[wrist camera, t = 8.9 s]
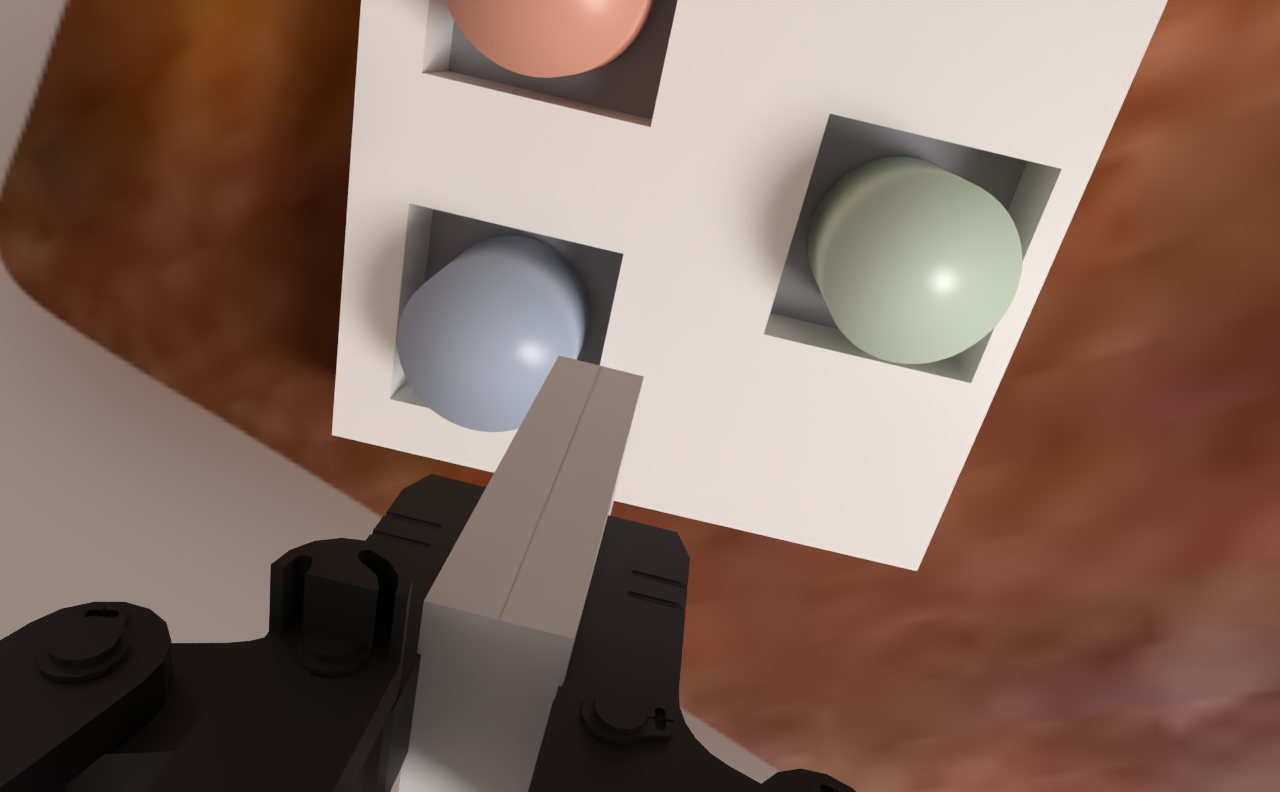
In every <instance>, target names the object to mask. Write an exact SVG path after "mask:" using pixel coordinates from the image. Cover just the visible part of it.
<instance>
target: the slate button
mask: <svg viewBox="0 0 1280 792" xmlns="http://www.w3.org/2000/svg"><path fill="white" fill-rule="evenodd" d="M589 325H590V304H589V299H588V295H587V291H586V289H585V286H584V284H583V282H582V280H581V278H580V276H579V275H578V273H577V271H576V270H575V269H574V268H573V266H572V265H571V264H570V263H569V262H568V261H567V260H566V259H565V258H564V257H563V256H562V255H561V254H560V253H558V252H557V251H556V250H554V249H553V248H551V247H549V246H548V245H546V244H544V243H541V242H539V241H537V240H534V239H530V238H527V237H521V236H509V235H506V236H496V237H492V238H488V239H485V240H482V241H480V242H478V243H476V244H474V245H472V246H470V247H469V248H468V249H466V250H465V251H464V252H462V253H461V254H460V255H459V256H458V257H456V258H455V259H454V260H453V261H451V262H450V263H449V264H448V265H446V266H445V267H444V268H443V269H441V270H440V271H439V272H438V273H437V274H435V275H434V276H433V277H432V278H430V279H429V280H428V281H427V282H425V283H424V284H423V285H422V286H421V287H420V288H419V289H418V290H417V291H416V292H415V293H414V294H413V295H412V297H411V298H410V300H409V301H408V302H407V304H406V306H405V308H404V310H403V312H402V315H401V318H400V322H399V327H398V333H397V347H398V355H399V359H400V363H401V367H402V369H403V372H404V374H405V376H406V378H407V380H408V382H409V384H410V386H411V387H412V389H413V390H414V391H415V393H416V394H417V395H418V397H419V398H420V399H421V400H422V401H423V402H424V403H425V404H426V405H427V406H428V407H429V408H430V409H431V410H433V411H434V412H435V413H437V414H438V415H439V416H441V417H443V418H444V419H446V420H448V421H450V422H452V423H454V424H456V425H459V426H461V427H464V428H468V429H471V430H476V431H482V432H505V431H510V430H515V429H518V428H519V427H520V425H521V423H522V422H523V420H524V418H525V416H526V414H527V413H528V411H529V409H530V407H531V405H532V403H533V402H534V400H535V398H536V396H537V394H538V393H539V391H540V389H541V387H542V385H543V383H544V382H545V380H546V378H547V376H548V374H549V373H550V371H551V369H552V367H553V365H554V363H555V362H556V360H557V358H558V356H563V357H567V358H571V359H575V360H577V358H578V356H579V354H580V351H581V349H582V347H583V344H584V342H585V340H586V338H587V334H588V330H589Z"/></svg>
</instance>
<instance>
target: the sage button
mask: <svg viewBox="0 0 1280 792" xmlns="http://www.w3.org/2000/svg"><path fill="white" fill-rule="evenodd" d="M807 248H808V259H809V264H810V267H811V271H812V274H813V276H814V278H815V280H816V282H817V285H818V287H819V289H820V291H821V294H822V296H823V298H824V300H825V302H826V305H827V307H828V309H829V311H830V313H831V315H832V317H833V320H834V322H835V323H836V325H837V326H838V328H839V329H840V331H841V332H842V333H843V334H844V335H845V336H846V338H847V339H848V340H849V341H851V342H852V343H853V344H854V345H855V346H857V347H858V348H859V349H861V350H863V351H864V352H866V353H868V354H870V355H872V356H874V357H876V358H879V359H882V360H886V361H889V362H895V363H900V364H922V363H930V362H935V361H939V360H942V359H946V358H949V357H952V356H954V355H956V354H958V353H961V352H963V351H964V350H966V349H968V348H970V347H971V346H973V345H974V344H976V343H977V342H978V341H980V340H981V339H982V338H984V337H985V336H986V335H987V334H988V333H989V332H990V331H991V330H992V329H993V328H994V327H995V326H996V325H997V324H998V322H999V321H1000V320H1001V319H1002V317H1003V316H1004V314H1005V313H1006V311H1007V310H1008V308H1009V307H1010V305H1011V303H1012V301H1013V299H1014V297H1015V294H1016V291H1017V288H1018V285H1019V281H1020V277H1021V272H1022V247H1021V242H1020V238H1019V234H1018V231H1017V229H1016V226H1015V224H1014V222H1013V220H1012V218H1011V216H1010V215H1009V213H1008V212H1007V210H1006V209H1005V208H1004V207H1003V205H1002V204H1001V203H1000V202H999V201H998V200H997V199H996V198H995V197H993V196H992V195H991V194H990V193H988V192H987V191H985V190H984V189H982V188H981V187H979V186H977V185H975V184H973V183H971V182H969V181H967V180H965V179H963V178H961V177H959V176H957V175H955V174H953V173H951V172H949V171H947V170H945V169H943V168H941V167H939V166H937V165H935V164H933V163H931V162H928V161H925V160H922V159H919V158H913V157H899V156H896V157H886V158H881V159H877V160H873V161H871V162H868V163H865V164H863V165H861V166H859V167H857V168H855V169H853V170H852V171H850V172H849V173H847V174H846V175H844V176H843V177H842V178H841V179H839V180H838V181H837V182H836V183H835V184H834V185H833V186H832V187H831V188H830V189H829V190H828V192H827V193H826V194H825V196H824V197H823V198H822V200H821V201H820V203H819V205H818V207H817V209H816V211H815V213H814V215H813V218H812V221H811V224H810V228H809V233H808V242H807Z"/></svg>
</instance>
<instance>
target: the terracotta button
mask: <svg viewBox="0 0 1280 792" xmlns="http://www.w3.org/2000/svg"><path fill="white" fill-rule="evenodd" d="M445 2H446V4H447V6H448V9H449V11H450V13H451V15H452V17H453V18H454V20H455V22H456V24H457V25H458V27H459V28H460V30H461V31H462V32H463V34H464V35H465V36H466V38H467V39H468V40H469V41H470V42H471V43H472V44H473V45H474V46H475V48H476V49H478V50H479V51H480V52H481V53H482V54H484V55H485V56H486V57H487V58H489V59H490V60H492V61H493V62H495V63H496V64H498V65H500V66H502V67H504V68H506V69H508V70H510V71H513V72H516V73H519V74H522V75H526V76H532V77H544V78H552V77H560V76H567V75H573V74H579V73H585V72H589V71H593V70H597V69H599V68H602V67H604V66H606V65H609V64H610V63H612V62H614V61H615V60H617V59H618V58H620V57H621V56H622V55H623V54H625V53H626V52H627V51H628V50H629V49H630V48H631V47H632V46H633V45H634V44H635V42H636V41H637V40H638V38H639V37H640V35H641V34H642V33H643V31H644V29H645V27H646V25H647V23H648V21H649V19H650V16H651V14H652V11H653V8H654V4H655V0H445Z"/></svg>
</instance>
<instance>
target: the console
mask: <svg viewBox="0 0 1280 792" xmlns="http://www.w3.org/2000/svg"><path fill="white" fill-rule="evenodd" d="M1167 1H1168V0H655V4H654V8H653V11H652V14H651V16H650V19H649V21H648V23H647V25H646V27H645V29H644V31H643V33H642V34H641V35H640V37H639V38H638V40H637V41H636V42H635V44H634V45H633V46H632V47H631V48H630V49H629V50H628V51H627V52H626V53H625V54H623V55H622V56H621V57H620V58H618V59H617V60H615V61H614V62H612V63H610V64H609V65H606V66H604V67H602V68H599V69H597V70H593V71H589V72H585V73H579V74H573V75H567V76H560V77H552V78H544V77H532V76H526V75H522V74H519V73H516V72H513V71H510V70H508V69H506V68H504V67H502V66H500V65H498V64H496V63H495V62H493V61H492V60H490V59H489V58H487V57H486V56H485V55H484V54H482V53H481V52H480V51H479V50H478V49H476V48H475V46H474V45H473V44H472V43H471V42H470V41H469V40H468V39H467V38H466V36H465V35H464V34H463V32H462V31H461V30H460V28H459V27H458V25H457V24H456V22H455V20H454V18H453V17H452V15H451V13H450V11H449V9H448V6H447V4H446V2H445V0H361V9H360V24H359V39H358V54H357V69H356V84H355V99H354V114H353V129H352V144H351V158H350V173H349V188H348V203H347V218H346V233H345V248H344V263H343V278H342V293H341V308H340V322H339V337H338V352H337V367H336V382H335V397H334V412H333V427H332V435H335V436H339V437H343V438H348V439H352V440H356V441H360V442H365V443H369V444H373V445H378V446H382V447H386V448H390V449H395V450H399V451H403V452H408V453H412V454H416V455H421V456H425V457H429V458H433V459H438V460H442V461H446V462H451V463H455V464H459V465H463V466H468V467H472V468H476V469H481V470H485V471H489V472H494V473H495V471H496V469H497V467H498V465H499V463H500V462H501V460H502V458H503V456H504V454H505V453H506V451H507V449H508V447H509V445H510V443H511V442H512V440H513V438H514V436H515V434H516V433H517V431H518V429H519V428H518V429H515V430H510V431H505V432H482V431H476V430H471V429H468V428H464V427H461V426H459V425H456V424H454V423H452V422H450V421H448V420H446V419H444V418H443V417H441V416H439V415H438V414H437V413H435V412H434V411H433V410H431V409H430V408H429V407H428V406H427V405H426V404H425V403H424V402H423V401H422V400H421V399H420V398H419V397H418V395H417V394H416V393H415V391H414V390H413V389H412V387H411V386H410V384H409V382H408V380H407V378H406V376H405V374H404V372H403V369H402V367H401V363H400V359H399V355H398V347H397V333H398V327H399V322H400V318H401V315H402V312H403V310H404V308H405V306H406V304H407V302H408V301H409V300H410V298H411V297H412V295H413V294H414V293H415V292H416V291H417V290H418V289H419V288H420V287H421V286H422V285H423V284H424V283H425V282H427V281H428V280H429V279H430V278H432V277H433V276H434V275H435V274H437V273H438V272H439V271H440V270H441V269H443V268H444V267H445V266H446V265H448V264H449V263H450V262H451V261H453V260H454V259H455V258H456V257H458V256H459V255H460V254H461V253H462V252H464V251H465V250H466V249H468V248H469V247H470V246H472V245H474V244H476V243H478V242H480V241H482V240H485V239H488V238H492V237H496V236H506V235H509V236H521V237H527V238H530V239H534V240H537V241H539V242H541V243H544V244H546V245H548V246H549V247H551V248H553V249H554V250H556V251H557V252H558V253H560V254H561V255H562V256H563V257H564V258H565V259H566V260H567V261H568V262H569V263H570V264H571V265H572V266H573V268H574V269H575V270H576V271H577V273H578V275H579V276H580V278H581V280H582V282H583V284H584V286H585V289H586V291H587V295H588V299H589V304H590V325H589V330H588V334H587V338H586V340H585V342H584V344H583V347H582V349H581V351H580V354H579V356H578V358H577V360H579V361H583V362H587V363H591V364H595V365H599V366H603V367H608V368H612V369H616V370H620V371H624V372H628V373H632V374H636V375H640V376H644V378H643V382H642V387H641V391H640V395H639V399H638V403H637V407H636V411H635V415H634V419H633V423H632V428H631V432H630V436H629V440H628V444H627V448H626V452H625V456H624V460H623V464H622V468H621V473H620V477H619V481H618V485H617V489H616V493H615V497H614V501H618V502H622V503H627V504H631V505H635V506H640V507H644V508H648V509H652V510H657V511H661V512H665V513H670V514H674V515H678V516H683V517H687V518H691V519H695V520H700V521H704V522H708V523H713V524H717V525H721V526H725V527H730V528H734V529H738V530H743V531H747V532H751V533H756V534H760V535H764V536H768V537H773V538H777V539H781V540H786V541H790V542H794V543H798V544H803V545H807V546H811V547H816V548H820V549H824V550H829V551H833V552H837V553H841V554H846V555H850V556H854V557H859V558H863V559H867V560H872V561H876V562H880V563H884V564H889V565H893V566H897V567H902V568H906V569H910V570H914V571H917V570H918V568H919V565H920V563H921V561H922V559H923V556H924V554H925V552H926V550H927V547H928V545H929V543H930V540H931V538H932V536H933V534H934V531H935V529H936V527H937V524H938V522H939V520H940V518H941V515H942V513H943V511H944V509H945V506H946V504H947V502H948V499H949V497H950V495H951V493H952V490H953V488H954V486H955V484H956V481H957V479H958V477H959V474H960V472H961V470H962V468H963V465H964V463H965V461H966V458H967V456H968V454H969V452H970V449H971V447H972V445H973V443H974V440H975V438H976V436H977V433H978V431H979V429H980V427H981V424H982V422H983V420H984V418H985V415H986V413H987V411H988V408H989V406H990V404H991V402H992V399H993V397H994V395H995V393H996V390H997V388H998V386H999V383H1000V381H1001V379H1002V377H1003V374H1004V372H1005V370H1006V367H1007V365H1008V363H1009V361H1010V358H1011V356H1012V354H1013V352H1014V349H1015V347H1016V345H1017V342H1018V340H1019V338H1020V336H1021V333H1022V331H1023V329H1024V327H1025V324H1026V322H1027V320H1028V317H1029V315H1030V313H1031V311H1032V308H1033V306H1034V304H1035V301H1036V299H1037V297H1038V295H1039V292H1040V290H1041V288H1042V286H1043V283H1044V281H1045V279H1046V276H1047V274H1048V272H1049V270H1050V267H1051V265H1052V263H1053V261H1054V258H1055V256H1056V254H1057V251H1058V249H1059V247H1060V245H1061V242H1062V240H1063V238H1064V235H1065V233H1066V231H1067V229H1068V226H1069V224H1070V222H1071V220H1072V217H1073V215H1074V213H1075V210H1076V208H1077V206H1078V204H1079V201H1080V199H1081V197H1082V195H1083V192H1084V190H1085V188H1086V185H1087V183H1088V181H1089V179H1090V176H1091V174H1092V172H1093V170H1094V167H1095V165H1096V163H1097V160H1098V158H1099V156H1100V154H1101V151H1102V149H1103V147H1104V144H1105V142H1106V140H1107V138H1108V135H1109V133H1110V131H1111V129H1112V126H1113V124H1114V122H1115V119H1116V117H1117V115H1118V113H1119V110H1120V108H1121V106H1122V104H1123V101H1124V99H1125V97H1126V94H1127V92H1128V90H1129V88H1130V85H1131V83H1132V81H1133V78H1134V76H1135V74H1136V72H1137V69H1138V67H1139V65H1140V63H1141V60H1142V58H1143V56H1144V53H1145V51H1146V49H1147V47H1148V44H1149V42H1150V40H1151V38H1152V35H1153V33H1154V31H1155V28H1156V26H1157V24H1158V22H1159V19H1160V17H1161V15H1162V13H1163V10H1164V8H1165V6H1166V3H1167ZM896 156H899V157H913V158H919V159H922V160H925V161H928V162H931V163H933V164H935V165H937V166H939V167H941V168H943V169H945V170H947V171H949V172H951V173H953V174H955V175H957V176H959V177H961V178H963V179H965V180H967V181H969V182H971V183H973V184H975V185H977V186H979V187H981V188H982V189H984V190H985V191H987V192H988V193H990V194H991V195H992V196H993V197H995V198H996V199H997V200H998V201H999V202H1000V203H1001V204H1002V205H1003V207H1004V208H1005V209H1006V210H1007V212H1008V213H1009V215H1010V216H1011V218H1012V220H1013V222H1014V224H1015V226H1016V229H1017V231H1018V234H1019V238H1020V242H1021V247H1022V272H1021V277H1020V281H1019V285H1018V288H1017V291H1016V294H1015V297H1014V299H1013V301H1012V303H1011V305H1010V307H1009V308H1008V310H1007V311H1006V313H1005V314H1004V316H1003V317H1002V319H1001V320H1000V321H999V322H998V324H997V325H996V326H995V327H994V328H993V329H992V330H991V331H990V332H989V333H988V334H987V335H986V336H985V337H984V338H982V339H981V340H980V341H978V342H977V343H976V344H974V345H973V346H971V347H970V348H968V349H966V350H964V351H963V352H961V353H958V354H956V355H954V356H952V357H949V358H946V359H942V360H939V361H935V362H930V363H922V364H900V363H895V362H889V361H886V360H882V359H879V358H876V357H874V356H872V355H870V354H868V353H866V352H864V351H863V350H861V349H859V348H858V347H857V346H855V345H854V344H853V343H852V342H851V341H849V340H848V339H847V338H846V336H845V335H844V334H843V333H842V332H841V331H840V329H839V328H838V326H837V325H836V323H835V322H834V320H833V317H832V315H831V313H830V311H829V309H828V307H827V305H826V302H825V300H824V298H823V296H822V294H821V291H820V289H819V287H818V285H817V282H816V280H815V278H814V276H813V274H812V271H811V267H810V264H809V259H808V248H807V242H808V233H809V228H810V224H811V221H812V218H813V215H814V213H815V211H816V209H817V207H818V205H819V203H820V201H821V200H822V198H823V197H824V196H825V194H826V193H827V192H828V190H829V189H830V188H831V187H832V186H833V185H834V184H835V183H836V182H837V181H838V180H839V179H841V178H842V177H843V176H844V175H846V174H847V173H849V172H850V171H852V170H853V169H855V168H857V167H859V166H861V165H863V164H865V163H868V162H871V161H873V160H877V159H881V158H886V157H896Z"/></svg>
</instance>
